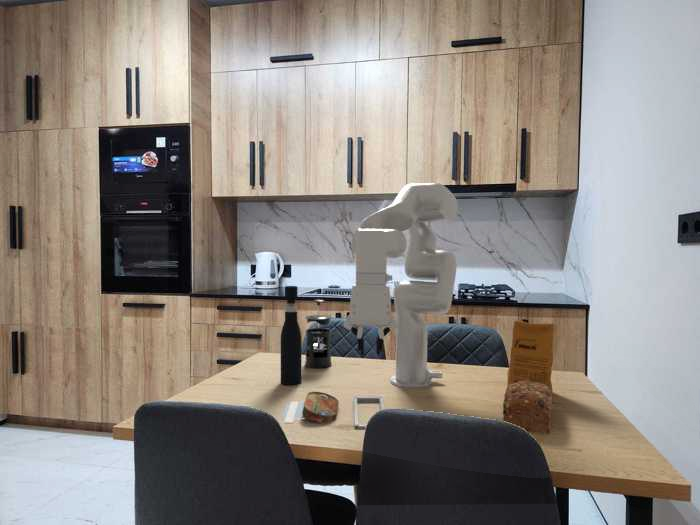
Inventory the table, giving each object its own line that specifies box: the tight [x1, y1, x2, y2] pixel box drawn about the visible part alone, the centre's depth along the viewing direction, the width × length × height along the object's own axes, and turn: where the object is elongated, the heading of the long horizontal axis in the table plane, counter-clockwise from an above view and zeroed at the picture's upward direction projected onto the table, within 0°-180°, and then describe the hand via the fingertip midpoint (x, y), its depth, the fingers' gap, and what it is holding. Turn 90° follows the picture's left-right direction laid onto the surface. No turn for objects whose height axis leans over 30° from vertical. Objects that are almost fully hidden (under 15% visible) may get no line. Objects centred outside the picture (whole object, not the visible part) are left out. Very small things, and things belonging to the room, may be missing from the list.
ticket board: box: [279, 401, 313, 424], centre depth 119 cm, size 8×14×1 cm, turn 0°
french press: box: [304, 298, 332, 369], centre depth 168 cm, size 12×9×23 cm
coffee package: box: [506, 319, 555, 398], centre depth 134 cm, size 10×12×22 cm
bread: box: [502, 380, 553, 435], centre depth 115 cm, size 19×11×10 cm, turn 156°
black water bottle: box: [280, 285, 303, 387], centre depth 145 cm, size 6×6×30 cm
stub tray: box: [353, 396, 385, 430], centre depth 118 cm, size 8×20×2 cm, turn 0°
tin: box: [302, 391, 340, 424], centre depth 119 cm, size 15×3×8 cm
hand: (370, 352), depth 117 cm, fingers open, 3 cm apart
